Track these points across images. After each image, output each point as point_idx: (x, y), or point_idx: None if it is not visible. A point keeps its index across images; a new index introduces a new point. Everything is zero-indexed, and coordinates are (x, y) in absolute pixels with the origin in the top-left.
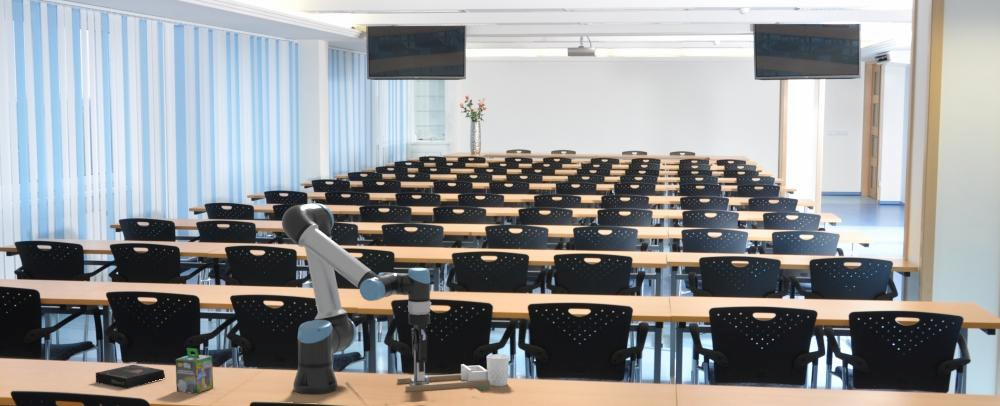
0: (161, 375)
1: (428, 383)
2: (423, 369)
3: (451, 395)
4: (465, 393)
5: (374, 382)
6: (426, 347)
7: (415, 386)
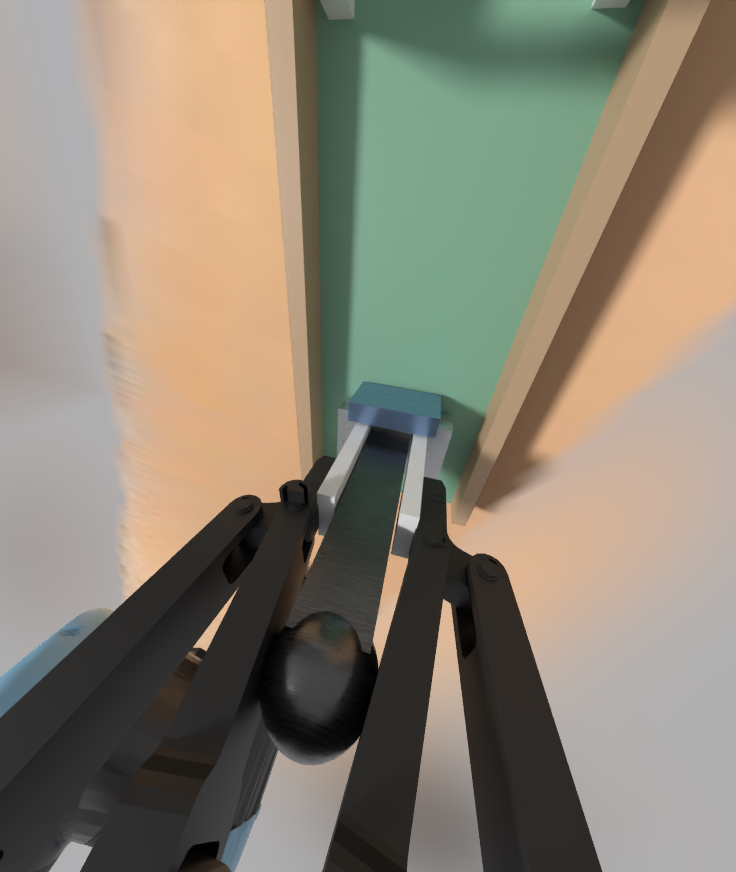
0: (199, 657)
1: (440, 406)
2: (445, 496)
3: (650, 312)
4: (710, 156)
5: (241, 489)
6: (584, 829)
7: (479, 492)
